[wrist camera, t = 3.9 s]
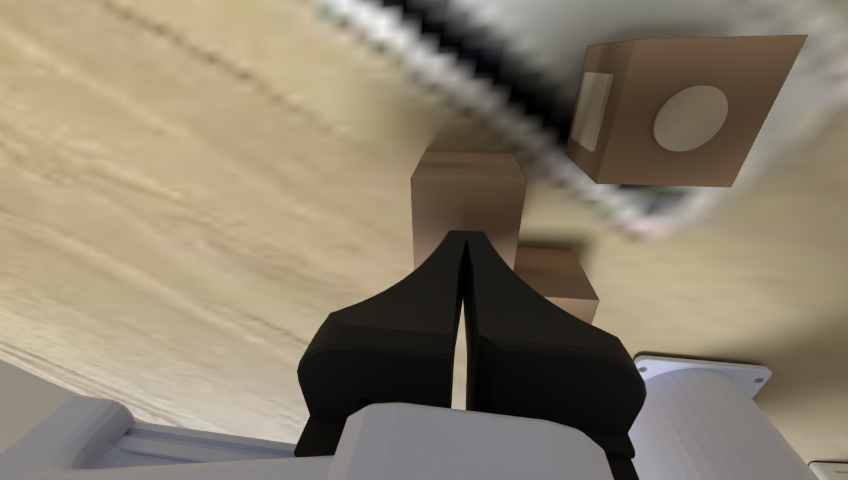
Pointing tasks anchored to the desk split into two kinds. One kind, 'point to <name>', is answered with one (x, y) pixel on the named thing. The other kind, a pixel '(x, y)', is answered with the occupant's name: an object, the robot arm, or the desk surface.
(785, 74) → the marked block 1
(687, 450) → the robot arm
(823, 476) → the ink box
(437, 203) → the plain block
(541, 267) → the marked block 2
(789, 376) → the desk surface
